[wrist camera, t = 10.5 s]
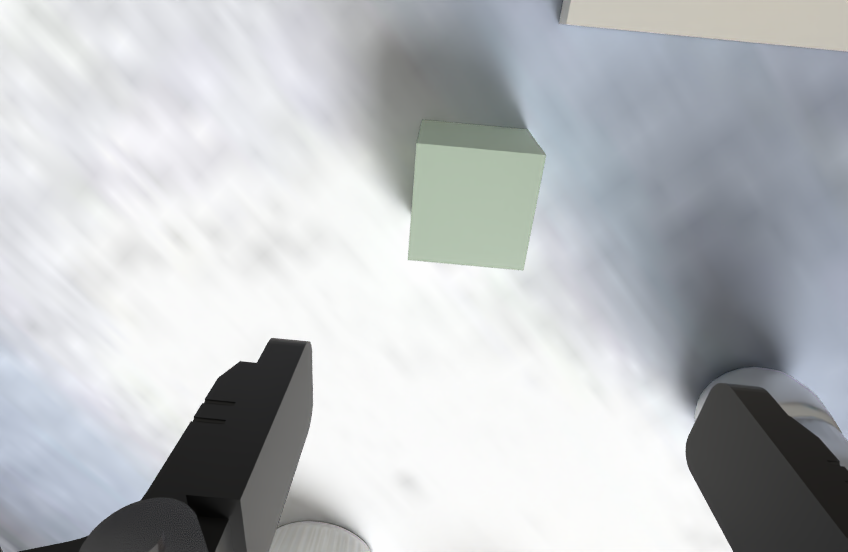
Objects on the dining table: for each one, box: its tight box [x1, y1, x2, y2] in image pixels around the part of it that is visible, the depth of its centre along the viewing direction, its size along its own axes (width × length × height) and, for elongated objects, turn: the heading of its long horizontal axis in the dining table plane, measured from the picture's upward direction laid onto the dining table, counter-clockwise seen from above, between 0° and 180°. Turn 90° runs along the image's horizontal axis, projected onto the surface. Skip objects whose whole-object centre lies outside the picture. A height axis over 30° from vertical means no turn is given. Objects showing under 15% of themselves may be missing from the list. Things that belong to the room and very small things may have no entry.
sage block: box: [408, 120, 546, 270], centre depth 22 cm, size 5×5×5 cm
